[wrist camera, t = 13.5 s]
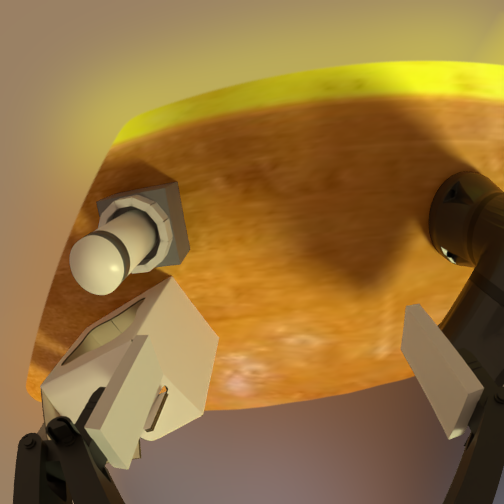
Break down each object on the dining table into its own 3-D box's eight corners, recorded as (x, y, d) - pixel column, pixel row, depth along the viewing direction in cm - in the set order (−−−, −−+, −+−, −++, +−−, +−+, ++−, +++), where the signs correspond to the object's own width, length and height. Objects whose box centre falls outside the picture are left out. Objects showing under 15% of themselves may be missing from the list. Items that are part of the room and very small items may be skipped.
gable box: (129, 378, 56) (76, 492, 29) (85, 328, 52) (5, 433, 26) (221, 337, 51) (192, 485, 25) (173, 274, 48) (94, 407, 22)
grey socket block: (177, 181, 43) (159, 190, 36) (190, 249, 46) (176, 270, 39) (115, 193, 44) (89, 204, 36) (129, 256, 47) (108, 277, 40)
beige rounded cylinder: (163, 251, 40) (128, 293, 29) (122, 256, 41) (79, 297, 29) (153, 205, 38) (112, 232, 27) (112, 213, 39) (62, 241, 27)
